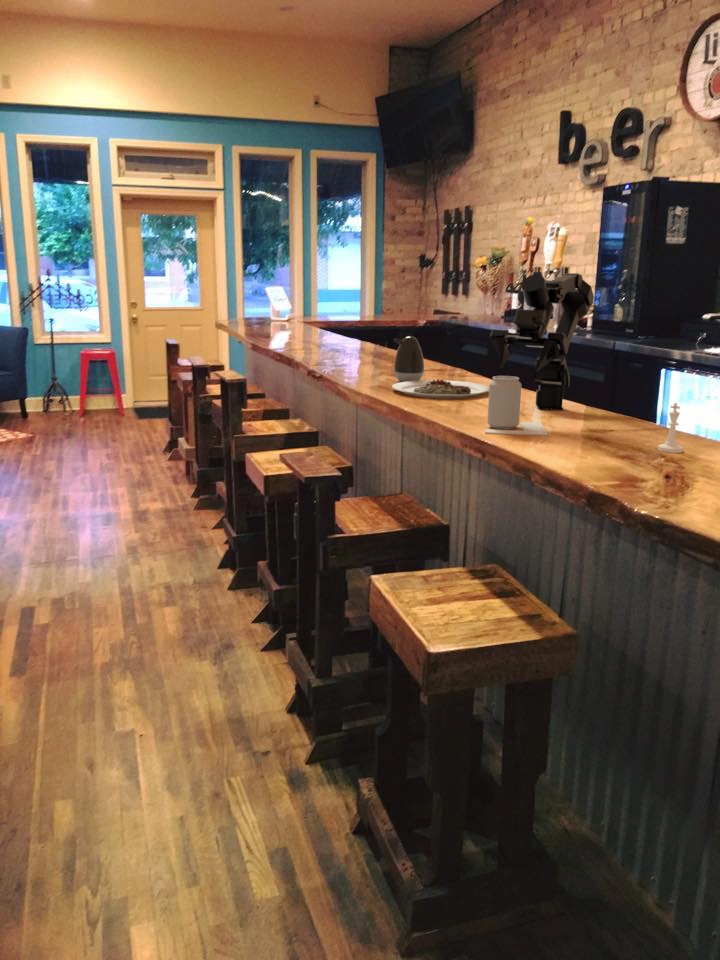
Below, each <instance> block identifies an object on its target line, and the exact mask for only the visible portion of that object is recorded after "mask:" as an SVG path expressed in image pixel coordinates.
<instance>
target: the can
mask: <svg viewBox="0 0 720 960" xmlns="http://www.w3.org/2000/svg"><path fill="white" fill-rule="evenodd" d="M519 380H520V377H518V376H514V375H513V376H511V375H496V376H492V380H491V381H490V382H489V386H488V387H489V392H488V406H487V422H486V423H487V424H488V426H490V428H492V429H495V430H514V429H516V427H518V426H519V425H520V414H521V397H522V383H521V381H519Z"/></svg>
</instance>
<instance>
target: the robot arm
mask: <svg viewBox="0 0 720 960" xmlns="http://www.w3.org/2000/svg"><path fill="white" fill-rule="evenodd" d="M520 287H521V290H522V293H523V298H524V300H525V305H526V306H529V309H516V311H515V316H514V320H513V324H515V325H516V328H515V330H516V333H517V334H518V335H510V332H509V330H508V329H493V330H492V331H491V333H490V335H489V338H490V342H491V345H492V347H493V349H494V351H495V352H496V353H497V354H499V355H498V361H499V362H498V365H499V368H500V369H503V367H504V366H505V364H506V362H507V360H508V358H509V356H510V354H511V353H510V351H511V349H512V345H514V346H516V345H517V346H522V347H528V348H542V349H541V350H540V351H539V354H538V357H537V358H536V361H535V363H534V364H533V368H532V377H533V381H532V382H533V386H538V389H536V391H535V402H534V403H535V406H536V407H537V408H538V410H558V411H561V410H562V411H563V410H564V407H563V401H564V400H563V398H564V388H569V387H570V383H571V382H570V381H571V378H570V377H571V376H570V372H569V369H568V365H567V360H566V355H567V354H568V351H569V347H570V343H571V341H572V339H573V336H574V334H575V331H576V327H577V325H578V322H579V320H580V319H582V318H583V317H584V316H586V315H587V314H588V312H589V310H590V309H591V307H592V306H593V303H594V298H595V297H594V292H593V289H592V286H591V285H590V284H589V283H588V282H586V281H585V280H584V279H583V275H582V274H580V273H573V272H572V273H571V272H569V273H567V272H565V273H564V274H561V276H559V277H556V278H553V279H552V280H550V279H549V280H547V279H545V277H544V276H543V273H542V272H541V271H534V272H533V274H531V275H528V276H527V277H525V278H524V279H523V280H522V281H521V283H520ZM554 304H556V305H557V304H561V305H560V306H561V308H562V309H561V310H562V313H561V316H560V319H559V321H558V324H557V327H556V329H555V331H554V332H551V331H550V332H548V326H549V323H550V320H553V319H554V311H555V309H554V307H555V306H554ZM546 335H547V338H544V336H546Z"/></svg>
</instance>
